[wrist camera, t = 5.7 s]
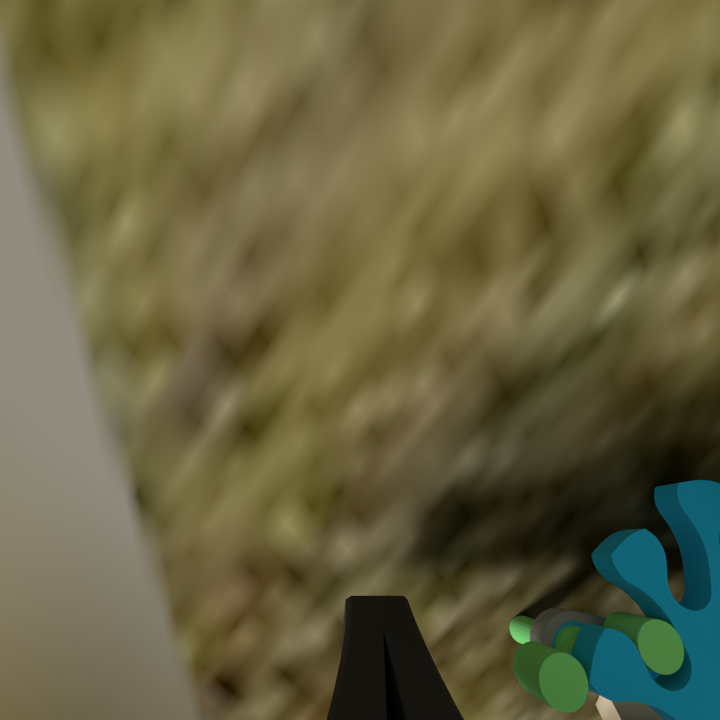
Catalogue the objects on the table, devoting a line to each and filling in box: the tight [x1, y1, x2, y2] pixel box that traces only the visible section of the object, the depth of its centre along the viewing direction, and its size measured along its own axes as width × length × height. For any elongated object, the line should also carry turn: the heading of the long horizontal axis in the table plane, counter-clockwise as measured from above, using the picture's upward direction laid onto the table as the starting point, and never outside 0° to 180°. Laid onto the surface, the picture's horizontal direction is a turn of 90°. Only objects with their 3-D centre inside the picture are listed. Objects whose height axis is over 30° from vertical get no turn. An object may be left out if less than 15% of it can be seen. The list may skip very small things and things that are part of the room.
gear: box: [510, 480, 720, 720], centre depth 12 cm, size 11×6×10 cm
